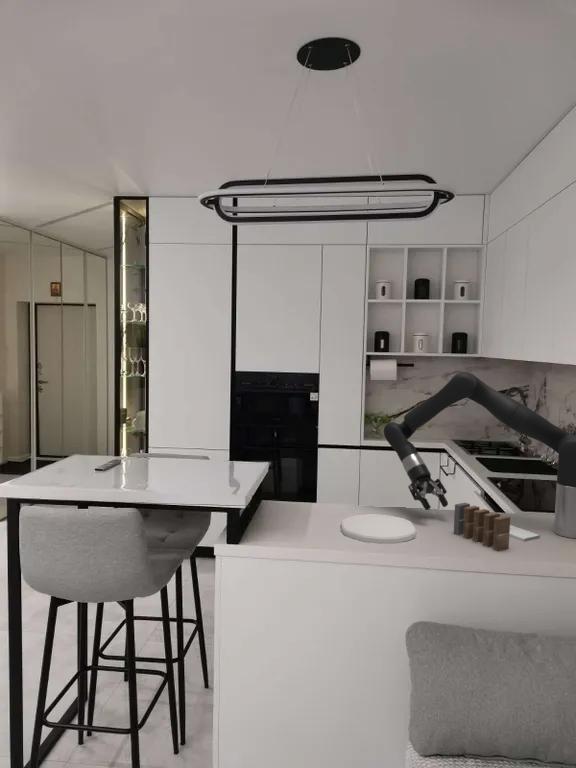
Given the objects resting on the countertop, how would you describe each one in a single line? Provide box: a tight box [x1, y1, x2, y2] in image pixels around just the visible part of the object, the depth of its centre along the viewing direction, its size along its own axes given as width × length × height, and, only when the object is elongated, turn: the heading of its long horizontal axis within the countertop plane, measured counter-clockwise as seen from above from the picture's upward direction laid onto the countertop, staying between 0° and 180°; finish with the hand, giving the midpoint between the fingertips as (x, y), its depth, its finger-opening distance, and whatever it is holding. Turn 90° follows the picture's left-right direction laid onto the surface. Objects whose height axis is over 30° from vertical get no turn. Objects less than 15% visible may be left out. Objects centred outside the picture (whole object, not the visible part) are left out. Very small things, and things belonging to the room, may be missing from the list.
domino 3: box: [472, 508, 490, 544], centre depth 184 cm, size 2×5×10 cm, turn 121°
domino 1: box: [453, 502, 471, 536], centre depth 191 cm, size 2×5×10 cm, turn 122°
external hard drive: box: [509, 524, 541, 543], centre depth 192 cm, size 2×8×12 cm
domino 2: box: [462, 505, 480, 540], centre depth 188 cm, size 2×5×10 cm, turn 121°
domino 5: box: [492, 515, 511, 552], centre depth 177 cm, size 2×5×10 cm, turn 121°
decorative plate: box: [341, 513, 417, 544], centre depth 192 cm, size 25×4×25 cm
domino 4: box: [482, 512, 501, 548], centre depth 181 cm, size 2×5×10 cm, turn 121°
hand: (437, 507), depth 200 cm, fingers open, 8 cm apart
